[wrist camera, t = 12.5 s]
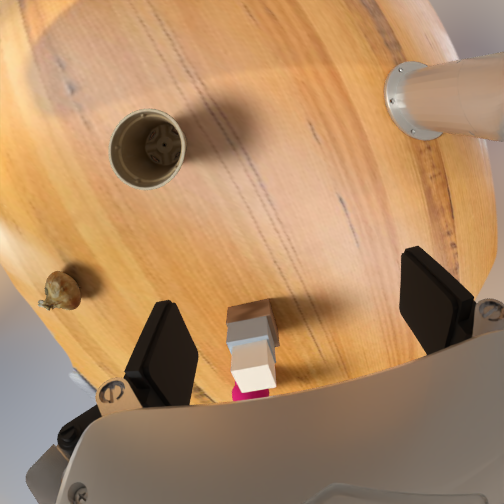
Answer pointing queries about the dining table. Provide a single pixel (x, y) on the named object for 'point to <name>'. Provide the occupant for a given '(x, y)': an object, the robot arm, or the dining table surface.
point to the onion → (61, 292)
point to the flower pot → (146, 149)
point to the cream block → (253, 366)
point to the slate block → (250, 333)
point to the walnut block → (254, 315)
